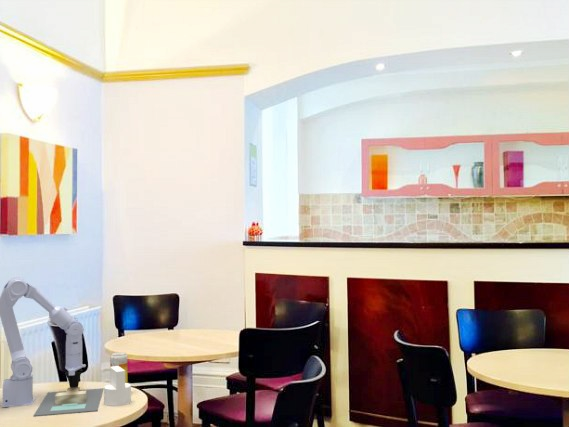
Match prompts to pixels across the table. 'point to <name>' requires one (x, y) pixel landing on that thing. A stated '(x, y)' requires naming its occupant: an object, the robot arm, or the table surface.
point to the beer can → (119, 362)
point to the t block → (71, 396)
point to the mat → (51, 409)
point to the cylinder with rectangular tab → (117, 388)
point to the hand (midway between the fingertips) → (74, 390)
